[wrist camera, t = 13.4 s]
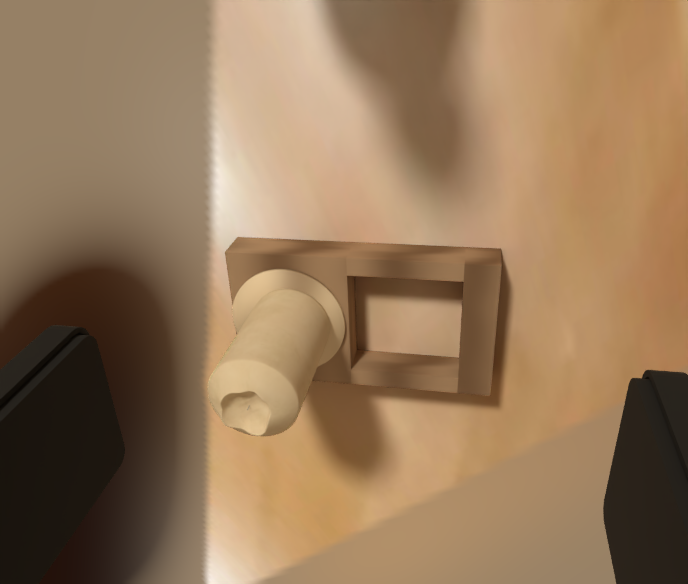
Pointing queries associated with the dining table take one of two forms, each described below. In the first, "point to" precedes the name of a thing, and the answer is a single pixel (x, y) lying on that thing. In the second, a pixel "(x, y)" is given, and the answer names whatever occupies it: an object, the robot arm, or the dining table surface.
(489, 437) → the dining table surface
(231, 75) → the dining table surface
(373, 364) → the wooden holder tray
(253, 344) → the candle
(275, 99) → the dining table surface
